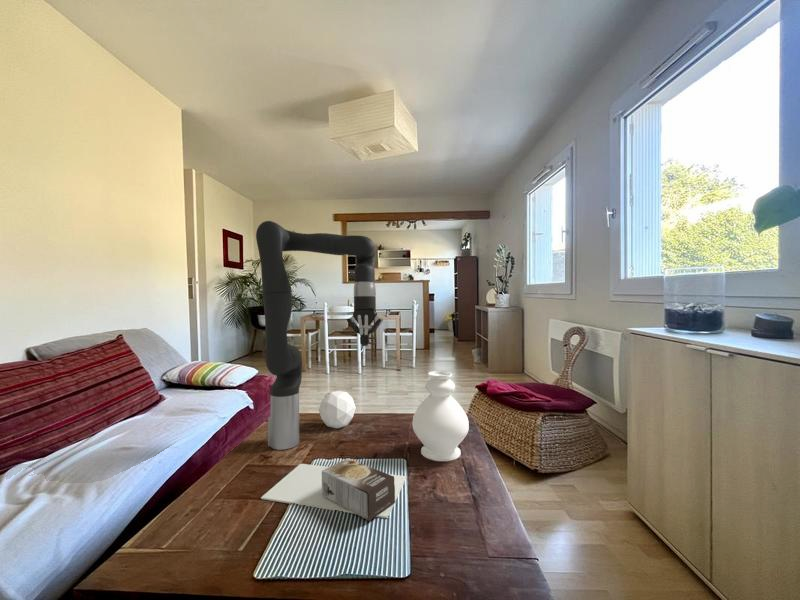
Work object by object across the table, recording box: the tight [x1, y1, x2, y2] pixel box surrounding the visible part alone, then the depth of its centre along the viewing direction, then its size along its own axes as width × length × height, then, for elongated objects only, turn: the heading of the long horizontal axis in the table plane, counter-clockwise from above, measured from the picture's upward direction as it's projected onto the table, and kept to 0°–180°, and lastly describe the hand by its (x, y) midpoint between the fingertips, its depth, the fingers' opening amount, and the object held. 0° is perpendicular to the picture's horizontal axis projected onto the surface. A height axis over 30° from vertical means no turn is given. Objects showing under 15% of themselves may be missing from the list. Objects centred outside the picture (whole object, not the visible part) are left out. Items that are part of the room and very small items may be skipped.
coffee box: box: [322, 457, 396, 522], centre depth 80 cm, size 9×6×16 cm
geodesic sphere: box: [318, 389, 357, 429], centre depth 131 cm, size 15×14×14 cm
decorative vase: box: [411, 370, 470, 462], centre depth 107 cm, size 18×18×25 cm
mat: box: [260, 463, 407, 519], centre depth 86 cm, size 32×18×1 cm, turn 76°
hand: (365, 345), depth 116 cm, fingers closed
